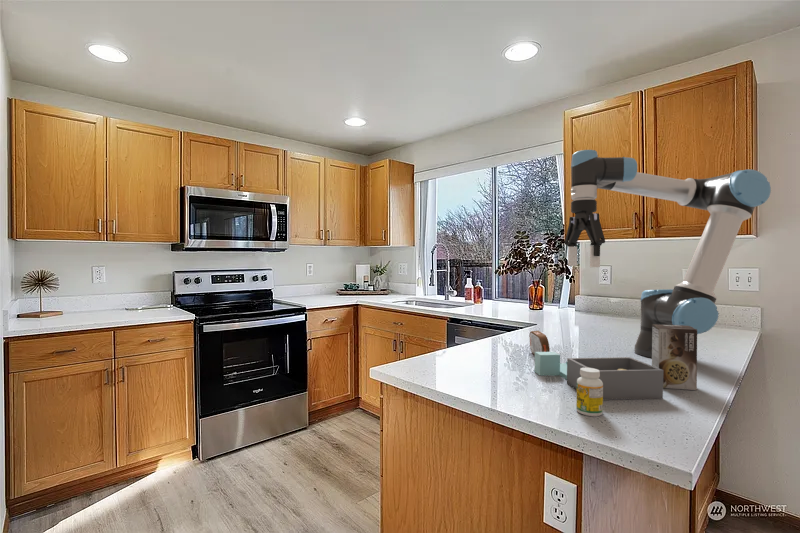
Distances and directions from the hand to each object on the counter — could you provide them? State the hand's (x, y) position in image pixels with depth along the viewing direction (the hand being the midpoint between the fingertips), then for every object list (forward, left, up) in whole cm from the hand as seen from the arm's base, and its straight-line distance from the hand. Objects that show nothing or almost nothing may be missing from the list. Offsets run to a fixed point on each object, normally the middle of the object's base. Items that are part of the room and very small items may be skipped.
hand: (583, 266), depth 135 cm
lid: (+7, +10, -31) cm, 34 cm away
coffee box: (-13, +24, -32) cm, 42 cm away
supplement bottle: (+20, +41, -32) cm, 55 cm away
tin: (+10, -10, -32) cm, 35 cm away
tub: (+6, +27, -31) cm, 42 cm away
